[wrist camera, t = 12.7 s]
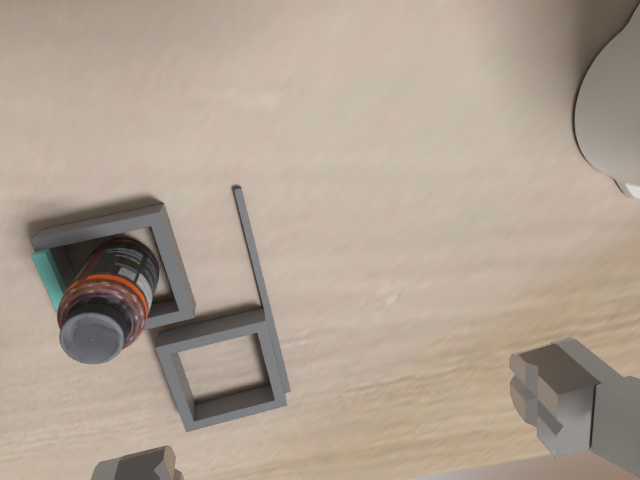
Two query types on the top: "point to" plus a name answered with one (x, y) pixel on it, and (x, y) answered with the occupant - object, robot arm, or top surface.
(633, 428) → the robot arm
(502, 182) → the top surface
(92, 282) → the supplement bottle
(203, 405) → the double square frame
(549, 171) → the top surface
